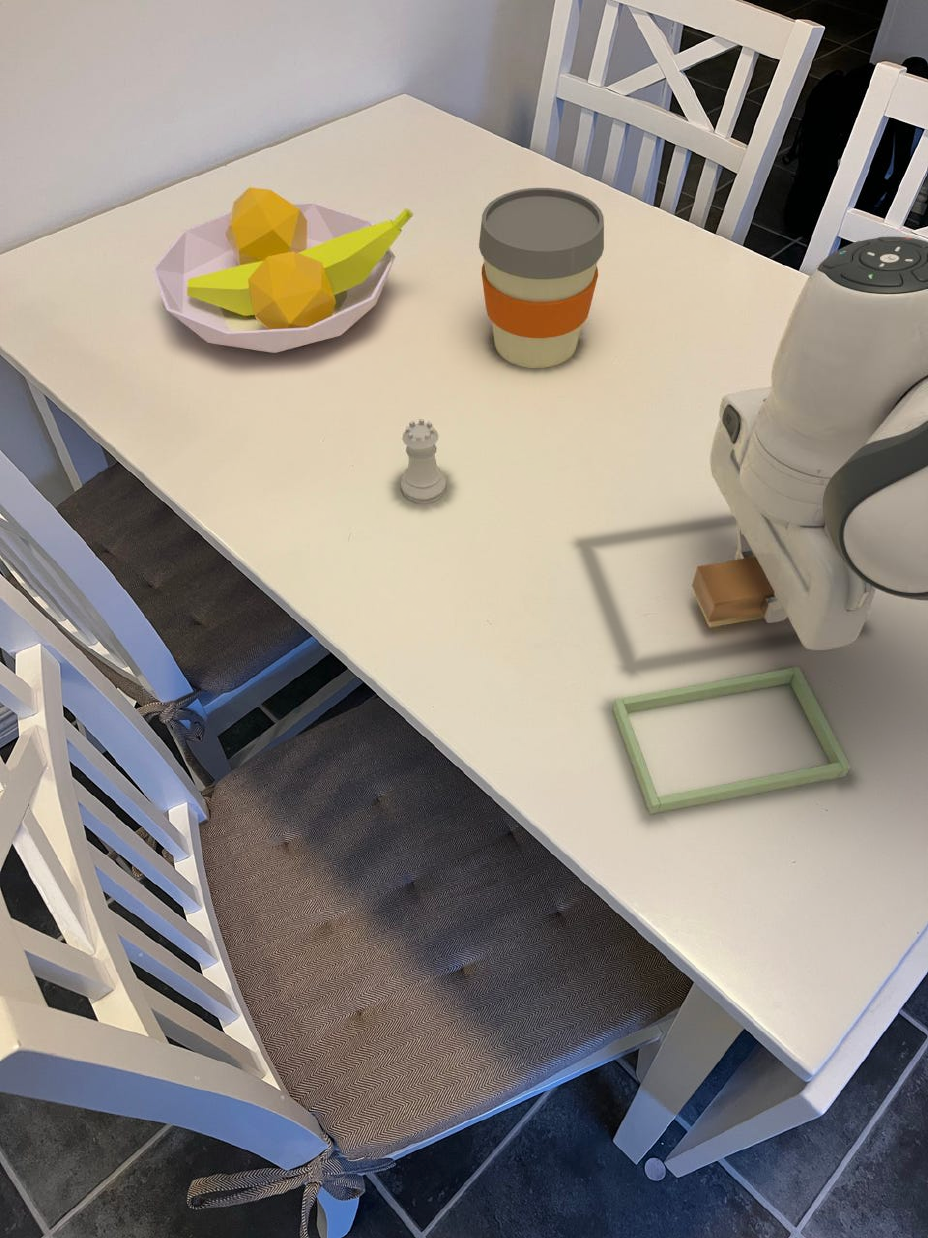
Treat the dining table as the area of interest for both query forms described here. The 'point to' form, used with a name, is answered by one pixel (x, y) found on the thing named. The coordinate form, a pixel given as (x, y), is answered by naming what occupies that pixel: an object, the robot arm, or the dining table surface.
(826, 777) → the rectangular frame
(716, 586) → the tan wooden brick
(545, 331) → the reusable coffee cup
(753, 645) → the dining table surface
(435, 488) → the rook chess piece
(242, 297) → the fruit bowl
